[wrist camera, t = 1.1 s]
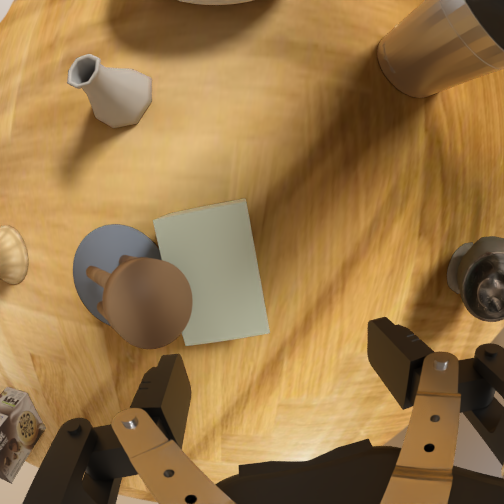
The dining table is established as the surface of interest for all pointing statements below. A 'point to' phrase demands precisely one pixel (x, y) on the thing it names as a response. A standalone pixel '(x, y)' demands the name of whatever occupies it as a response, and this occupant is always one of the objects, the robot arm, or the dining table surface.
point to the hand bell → (12, 256)
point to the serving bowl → (215, 2)
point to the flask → (112, 90)
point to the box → (216, 270)
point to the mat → (107, 258)
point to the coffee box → (17, 431)
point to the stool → (144, 300)
